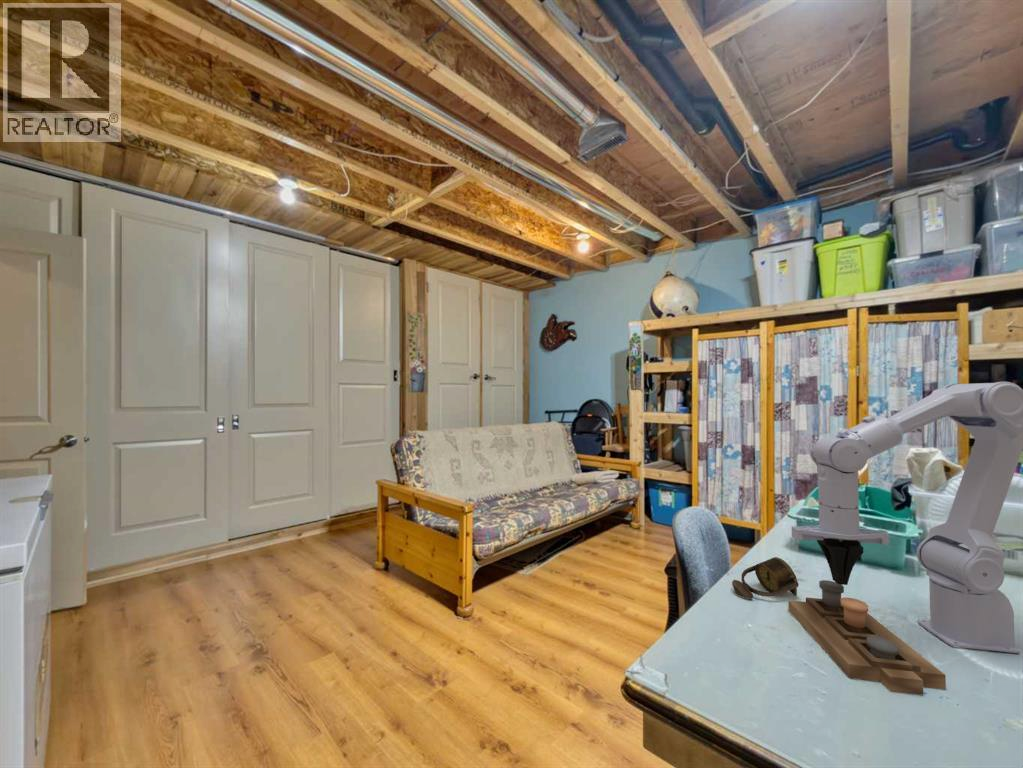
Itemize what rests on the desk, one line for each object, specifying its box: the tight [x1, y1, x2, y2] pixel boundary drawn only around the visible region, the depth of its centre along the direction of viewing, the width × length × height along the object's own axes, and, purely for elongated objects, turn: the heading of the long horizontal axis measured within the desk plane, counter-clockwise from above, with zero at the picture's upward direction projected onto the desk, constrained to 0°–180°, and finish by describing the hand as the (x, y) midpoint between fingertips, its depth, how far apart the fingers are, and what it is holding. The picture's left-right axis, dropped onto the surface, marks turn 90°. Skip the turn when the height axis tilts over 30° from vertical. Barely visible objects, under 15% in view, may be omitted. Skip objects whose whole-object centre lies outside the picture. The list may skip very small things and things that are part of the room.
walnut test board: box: [787, 597, 947, 696], centre depth 71 cm, size 12×24×3 cm, turn 169°
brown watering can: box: [731, 556, 799, 600], centre depth 89 cm, size 7×13×10 cm
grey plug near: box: [867, 636, 898, 660], centre depth 64 cm, size 4×4×3 cm
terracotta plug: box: [841, 597, 869, 628], centre depth 71 cm, size 4×4×3 cm
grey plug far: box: [818, 579, 845, 607], centre depth 78 cm, size 4×4×3 cm
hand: (839, 582), depth 75 cm, fingers closed
